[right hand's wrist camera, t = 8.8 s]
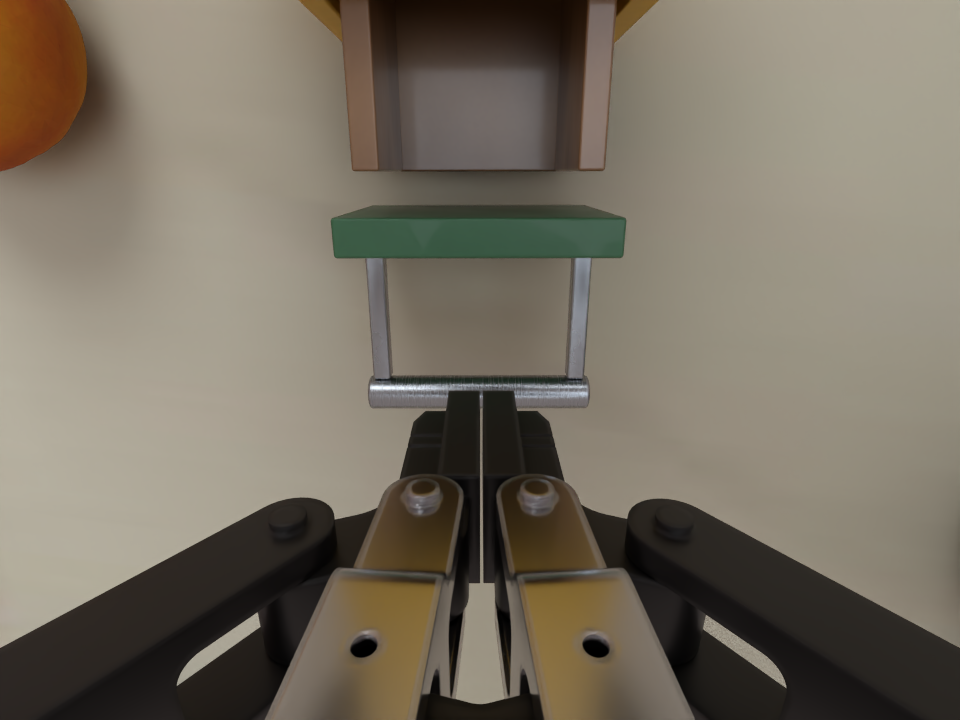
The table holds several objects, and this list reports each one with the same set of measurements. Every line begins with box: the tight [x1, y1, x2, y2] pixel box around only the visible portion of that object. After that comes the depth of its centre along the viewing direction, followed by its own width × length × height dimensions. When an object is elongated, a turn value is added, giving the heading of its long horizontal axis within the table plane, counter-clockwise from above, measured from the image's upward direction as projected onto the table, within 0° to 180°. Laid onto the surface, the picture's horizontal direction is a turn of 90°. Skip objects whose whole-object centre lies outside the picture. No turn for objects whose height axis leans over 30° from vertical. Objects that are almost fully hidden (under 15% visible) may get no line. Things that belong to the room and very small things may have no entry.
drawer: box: [331, 0, 626, 408], centre depth 18 cm, size 18×9×6 cm, turn 0°
